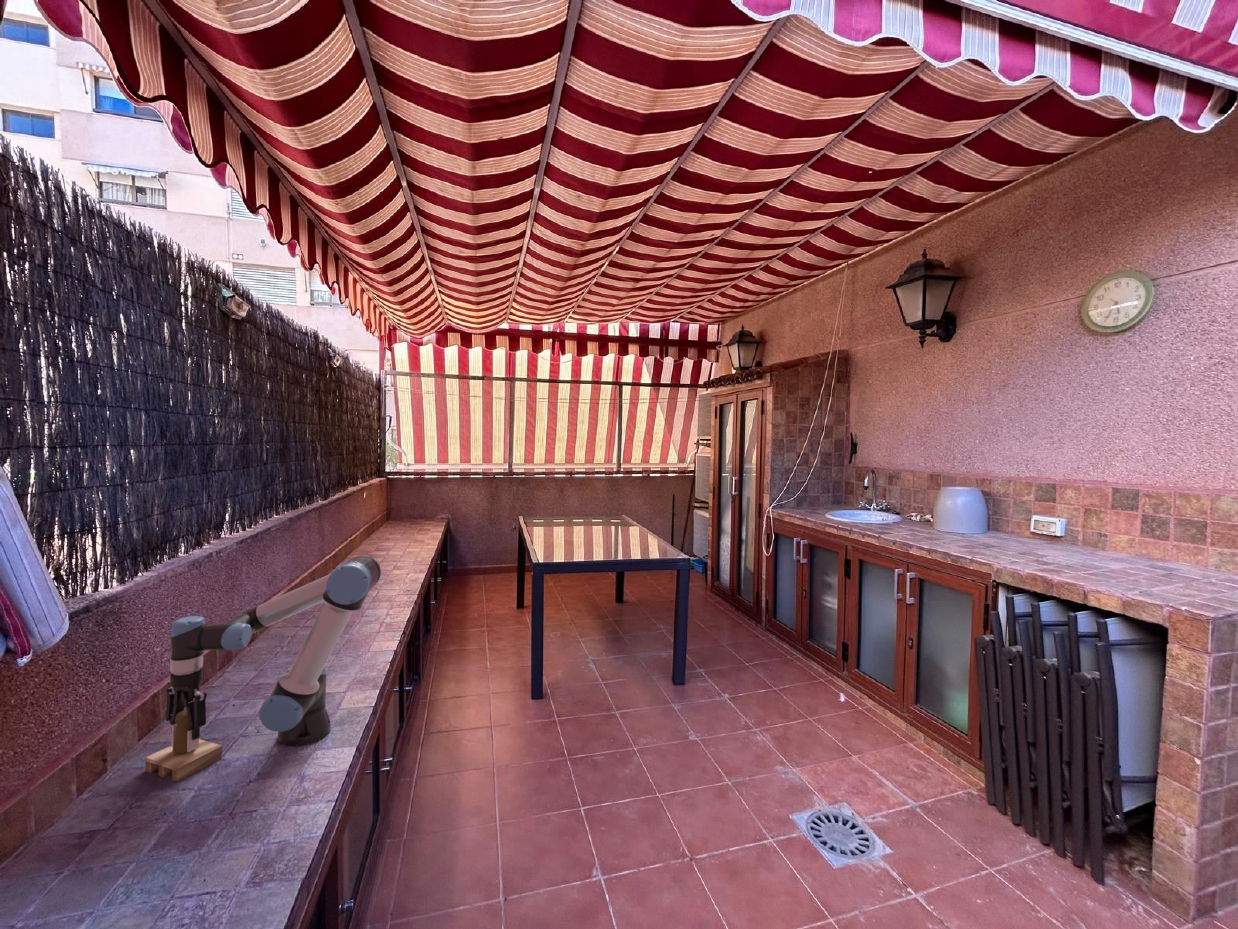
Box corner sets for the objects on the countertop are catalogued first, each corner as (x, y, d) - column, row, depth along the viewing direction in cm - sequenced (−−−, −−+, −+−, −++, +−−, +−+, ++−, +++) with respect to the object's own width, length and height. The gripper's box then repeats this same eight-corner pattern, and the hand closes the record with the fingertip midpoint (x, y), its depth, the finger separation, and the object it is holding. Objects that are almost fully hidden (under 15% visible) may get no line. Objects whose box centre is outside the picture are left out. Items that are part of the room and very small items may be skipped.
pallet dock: (222, 758, 157) (222, 745, 157) (178, 782, 145) (178, 768, 145) (190, 749, 161) (190, 736, 161) (144, 771, 149) (145, 757, 149)
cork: (196, 739, 157) (196, 704, 157) (201, 747, 154) (201, 711, 153) (170, 748, 153) (170, 711, 153) (174, 756, 149) (175, 718, 149)
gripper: (222, 670, 153) (221, 747, 154) (178, 660, 159) (177, 734, 159) (195, 680, 146) (193, 760, 147) (150, 670, 152) (148, 747, 152)
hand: (185, 747), depth 153 cm, fingers closed on cork, 6 cm apart
